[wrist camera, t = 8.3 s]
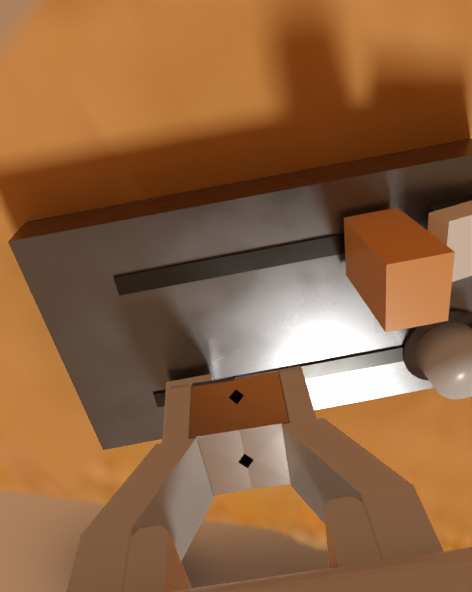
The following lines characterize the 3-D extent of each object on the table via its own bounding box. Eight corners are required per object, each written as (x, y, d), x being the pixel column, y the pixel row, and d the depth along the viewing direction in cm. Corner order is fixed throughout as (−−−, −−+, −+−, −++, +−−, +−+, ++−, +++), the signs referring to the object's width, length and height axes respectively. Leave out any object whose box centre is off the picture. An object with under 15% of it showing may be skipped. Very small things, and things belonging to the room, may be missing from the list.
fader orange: (397, 207, 16) (454, 252, 13) (395, 265, 17) (448, 320, 14) (343, 217, 16) (386, 264, 13) (346, 275, 17) (385, 332, 14)
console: (480, 137, 18) (524, 150, 15) (456, 354, 23) (484, 387, 21) (25, 222, 18) (2, 248, 15) (109, 419, 23) (101, 459, 21)
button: (479, 316, 19) (504, 340, 18) (472, 366, 21) (495, 392, 19) (416, 328, 19) (436, 353, 18) (413, 377, 21) (432, 404, 19)
